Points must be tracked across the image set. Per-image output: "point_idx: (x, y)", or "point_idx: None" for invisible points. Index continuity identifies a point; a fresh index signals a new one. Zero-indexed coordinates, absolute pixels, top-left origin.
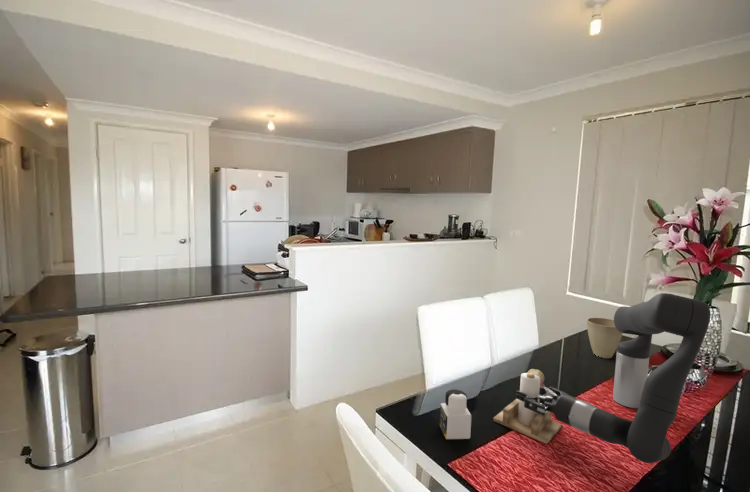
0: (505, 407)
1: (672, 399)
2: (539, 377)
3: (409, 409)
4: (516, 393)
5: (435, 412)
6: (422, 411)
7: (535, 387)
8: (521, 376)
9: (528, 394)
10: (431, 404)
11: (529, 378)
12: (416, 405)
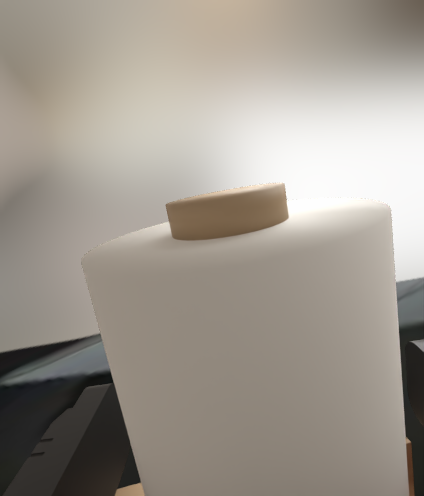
0: (131, 486)
1: None
2: (369, 222)
3: (24, 361)
4: (60, 416)
5: (48, 388)
6: (32, 375)
7: (176, 418)
8: (140, 231)
9: (143, 485)
10: (92, 358)
11: (152, 243)
12: (59, 353)
